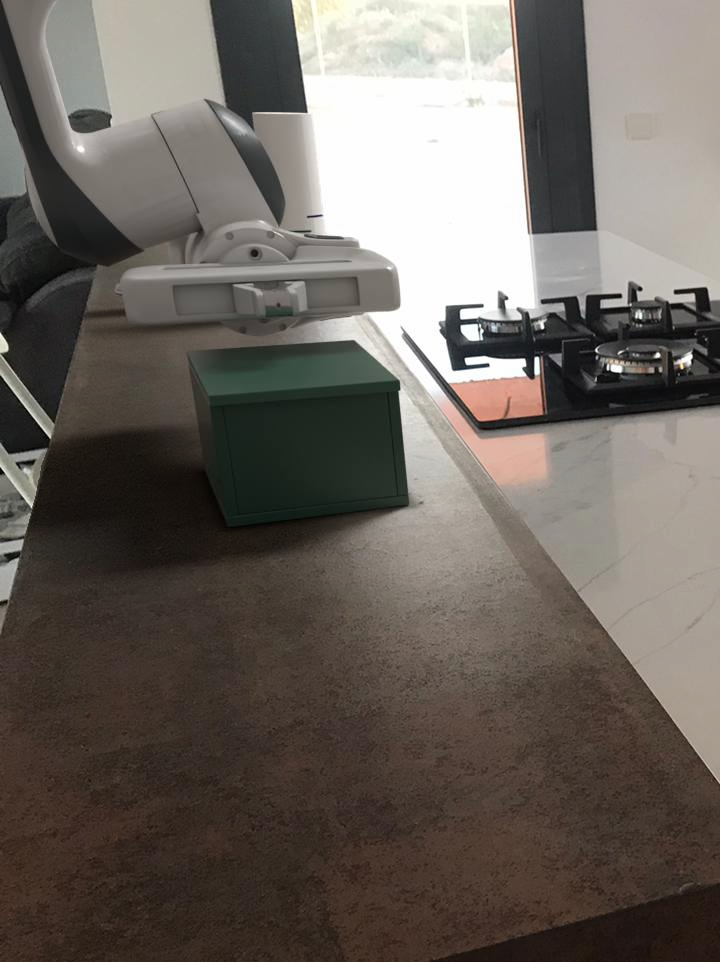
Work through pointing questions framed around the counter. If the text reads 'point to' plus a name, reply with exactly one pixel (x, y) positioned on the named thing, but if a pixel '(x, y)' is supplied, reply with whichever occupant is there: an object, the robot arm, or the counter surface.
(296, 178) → the cylindrical container
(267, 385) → the lid
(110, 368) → the counter surface
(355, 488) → the green open box
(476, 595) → the counter surface
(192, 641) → the counter surface
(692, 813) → the counter surface
